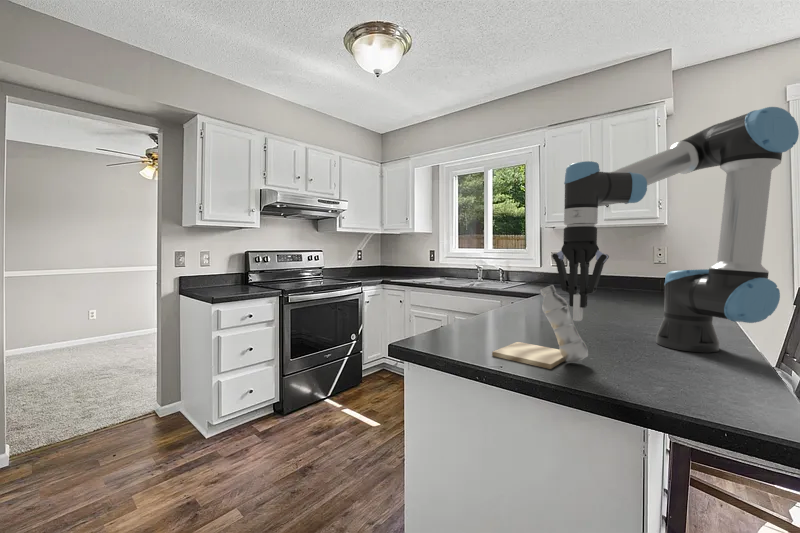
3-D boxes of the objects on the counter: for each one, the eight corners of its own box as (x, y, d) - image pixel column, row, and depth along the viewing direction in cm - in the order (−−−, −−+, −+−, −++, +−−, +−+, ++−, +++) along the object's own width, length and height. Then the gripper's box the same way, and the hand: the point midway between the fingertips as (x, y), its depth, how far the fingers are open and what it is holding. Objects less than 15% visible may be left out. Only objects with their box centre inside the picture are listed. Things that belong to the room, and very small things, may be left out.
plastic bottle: (591, 355, 96) (559, 283, 100) (591, 359, 90) (557, 282, 94) (565, 362, 98) (535, 291, 103) (564, 366, 92) (533, 291, 97)
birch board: (572, 356, 102) (572, 351, 101) (550, 369, 91) (550, 364, 91) (517, 345, 113) (517, 341, 113) (492, 355, 102) (492, 351, 102)
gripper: (548, 226, 94) (546, 318, 95) (604, 224, 85) (601, 326, 86) (559, 227, 99) (557, 314, 101) (613, 225, 91) (610, 321, 92)
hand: (577, 319), depth 93 cm, fingers closed
